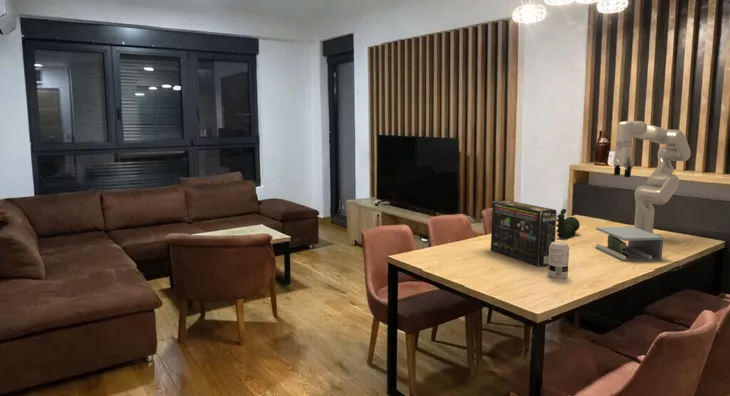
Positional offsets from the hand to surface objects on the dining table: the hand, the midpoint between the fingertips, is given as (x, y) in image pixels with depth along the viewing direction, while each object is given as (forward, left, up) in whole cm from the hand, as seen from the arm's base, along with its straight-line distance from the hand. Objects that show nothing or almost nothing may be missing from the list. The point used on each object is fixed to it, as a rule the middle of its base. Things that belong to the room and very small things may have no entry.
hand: (622, 176), depth 278 cm
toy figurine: (+18, -22, -39) cm, 48 cm away
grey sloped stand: (+7, +20, -38) cm, 44 cm away
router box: (+63, +20, -39) cm, 77 cm away
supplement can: (+59, +53, -38) cm, 88 cm away
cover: (+7, +20, -28) cm, 35 cm away
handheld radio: (+11, +20, -38) cm, 44 cm away
